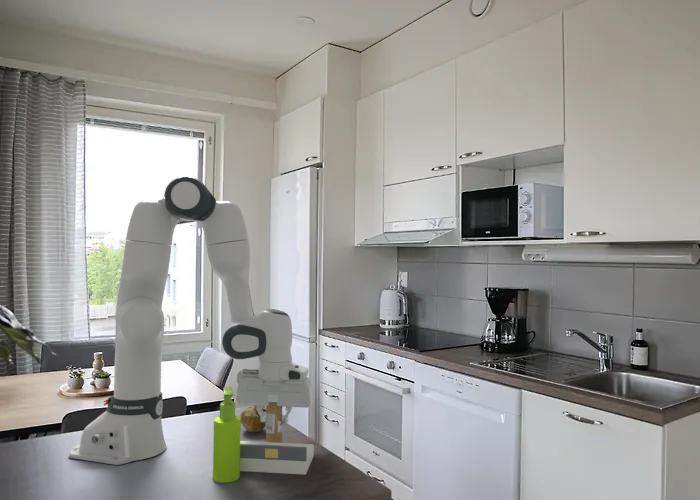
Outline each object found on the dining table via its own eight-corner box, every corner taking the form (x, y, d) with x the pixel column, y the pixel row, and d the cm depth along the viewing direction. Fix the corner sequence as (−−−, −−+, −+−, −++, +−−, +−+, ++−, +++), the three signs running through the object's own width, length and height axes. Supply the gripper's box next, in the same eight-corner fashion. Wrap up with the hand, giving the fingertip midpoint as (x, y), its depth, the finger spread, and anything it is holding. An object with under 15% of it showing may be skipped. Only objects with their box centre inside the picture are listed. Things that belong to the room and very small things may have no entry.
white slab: (220, 470, 122) (220, 444, 122) (235, 452, 133) (236, 428, 133) (305, 475, 120) (305, 448, 120) (313, 456, 131) (314, 432, 131)
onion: (257, 424, 155) (257, 397, 155) (272, 431, 149) (273, 403, 150) (234, 430, 150) (235, 402, 150) (250, 437, 144) (250, 408, 144)
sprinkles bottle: (285, 444, 139) (286, 393, 140) (269, 447, 137) (270, 395, 137) (277, 439, 143) (278, 389, 143) (262, 442, 141) (263, 392, 141)
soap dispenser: (213, 486, 114) (215, 393, 114) (212, 473, 120) (214, 385, 121) (241, 483, 115) (242, 391, 116) (238, 470, 122) (240, 384, 122)
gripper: (233, 371, 138) (232, 424, 138) (310, 374, 136) (309, 427, 136) (240, 366, 144) (239, 416, 144) (314, 369, 142) (313, 420, 142)
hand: (274, 422), depth 140 cm, fingers closed on sprinkles bottle, 4 cm apart
